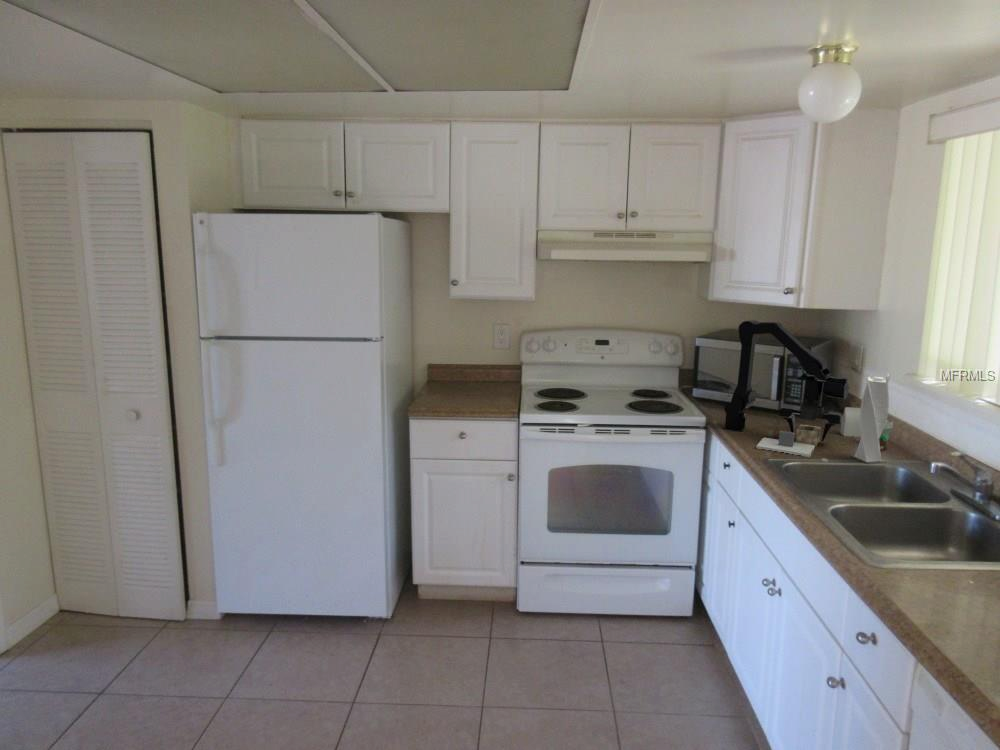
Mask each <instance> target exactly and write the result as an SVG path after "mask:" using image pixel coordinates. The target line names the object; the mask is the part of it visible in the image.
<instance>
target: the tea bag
mask: <svg viewBox="0 0 1000 750" xmlns="http://www.w3.org/2000/svg"><path fill="white" fill-rule="evenodd" d="M860 409H861V407H847V406H846V407H844V410H843V413H842V421H841V423H840V425H841V426H840V431H839V433H840V435H842V436H843V435H844V436H843V437H851V436H854V437H855V438H861V430H860Z"/></svg>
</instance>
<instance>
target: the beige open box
mask: <svg viewBox="0 0 1000 750" xmlns="http://www.w3.org/2000/svg"><path fill="white" fill-rule="evenodd" d="M821 428H822V427H821V426H815V425H807V424H799V426H798V427H797V428H796V431H795V432H796V433H795V440H794V442H796V443H803V444H809V445H815V448H817V446H818V445H819V443H818V442H820V438H821V437H820V436H821Z"/></svg>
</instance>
